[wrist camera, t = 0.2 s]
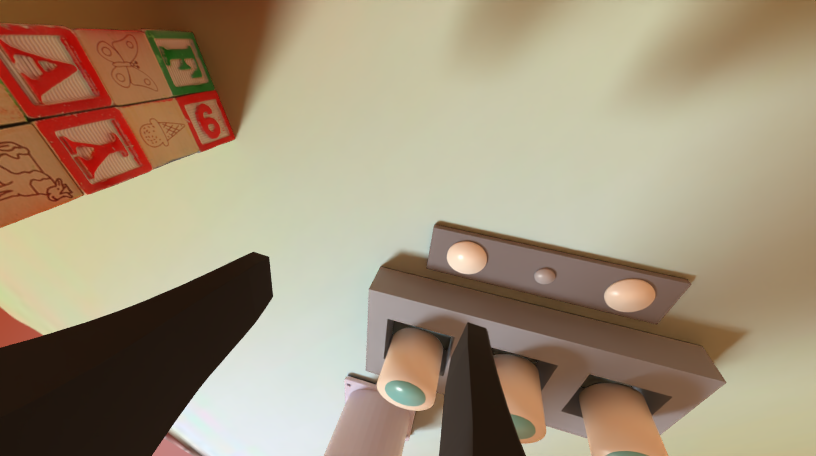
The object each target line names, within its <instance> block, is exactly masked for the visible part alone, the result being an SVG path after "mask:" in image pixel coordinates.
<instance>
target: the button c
mask: <svg viewBox="0 0 816 456" xmlns="http://www.w3.org/2000/svg"><path fill="white" fill-rule="evenodd" d="M579 402H580V407H581V411H582V416H583V420H584V424H585V429H586V433H587V438H588V442H589V446H590V451H591V455H592V456H668V454H667V452H666V449H665V447H664V444H663V442H662V439H661V437H660V435H659V432H658V430H657V427H656V425H655V422H654V420H653V418H652V415H651V413H650V410H649V408H648V405H647V403H646V400H645V398H644V396H643V395H642V394H641V393H640V392H639V391H637V390H636V389H634V388H632V387H629V386H626V385H622V384H617V383H600V384H594V385H591V386H589V387H587V388H585V389H583V390H582V391H581V393H580V394H579Z"/></svg>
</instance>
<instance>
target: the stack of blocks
mask: <svg viewBox="0 0 816 456" xmlns="http://www.w3.org/2000/svg"><path fill="white" fill-rule="evenodd" d="M234 139H235V136H234V134H233V131H232V129H231V126H230V124H229V121H228V119H227V116H226V114H225V111H224V109H223V106H222V104H221V101H220V99H219V96H218V94H217V92H216V90H215V88H214V86H213V83H212V80H211V78H210V75H209V73H208V70H207V68H206V65H205V63H204V60H203V58H202V55H201V53H200V50H199V48H198V45H197V43H196V40H195V37H194V35H193V33H192V32H187V31H173V30H157V29H138V30H110V29H79V28H78V29H69V28H67V27H65V26H62V25H38V24H10V23H0V228H1V227H4V226H7V225H9V224H12V223H15V222H17V221H20V220H22V219H25V218H27V217H30V216H32V215H35V214H38V213H41V212H43V211H46V210H49V209H51V208H54V207H57V206H59V205H62V204H64V203H67V202H69V201H72V200H74V199H76V198H78V197H80V196H83V195H88V194H92V193H95V192H97V191H100V190H103V189H106V188H109V187H111V186H114V185H117V184H119V183H122V182H124V181H127V180H129V179H132V178H134V177H137V176H139V175H142V174H145V173H147V172H150V171H151V170H153V169H155V168H158V167H161V166H163V165H166V164H168V163H170V162H173V161H175V160H178V159H181V158H184V157H187V156H190V155H192V154H195V153H200V152H203V151H206V150H209V149H211V148H213V147H216V146H218V145H221V144H224V143H227V142H230V141H232V140H234Z"/></svg>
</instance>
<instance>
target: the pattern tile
mask: <svg viewBox="0 0 816 456" xmlns="http://www.w3.org/2000/svg"><path fill="white" fill-rule="evenodd" d="M427 269H431V270H435V271H439V272H443V273H447V274H451V275H456V276H460V277H464V278H468V279H472V280H476V281H480V282H484V283H489V284H493V285H497V286H501V287H505V288H509V289H513V290H517V291H521V292H526V293H530V294H534V295H538V296H542V297H546V298H550V299H554V300H559V301H563V302H567V303H571V304H575V305H579V306H583V307H587V308H592V309H596V310H600V311H604V312H608V313H612V314H616V315H620V316H625V317H629V318H633V319H637V320H641V321H645V322H649V323H653V324H658V323H659V322H660V320H661V319H662V318H663V317H664V316H665V315H666V313H667V312H668V311H669V310H670V309H671V308H672V306H673V305H674V304H675V303H676V302H677V301H678V299H679V298H680V297H681V296H682V295H683V294H684V292H685V291H686V290H687V289H688V288H689V287H690V285H691V283H690V282H689V281H688V280H687V279H682V278H677V277H673V276H668V275H664V274H659V273H655V272H650V271H646V270H641V269H636V268H632V267H627V266H623V265H618V264H614V263H609V262H604V261H600V260H595V259H591V258H586V257H582V256H577V255H572V254H568V253H563V252H559V251H554V250H550V249H545V248H540V247H536V246H531V245H527V244H522V243H518V242H513V241H508V240H504V239H499V238H495V237H490V236H486V235H481V234H476V233H472V232H467V231H463V230H458V229H454V228H449V227H444V226H440V225H434V229H433V234H432V240H431V246H430V251H429V257H428V263H427Z"/></svg>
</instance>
